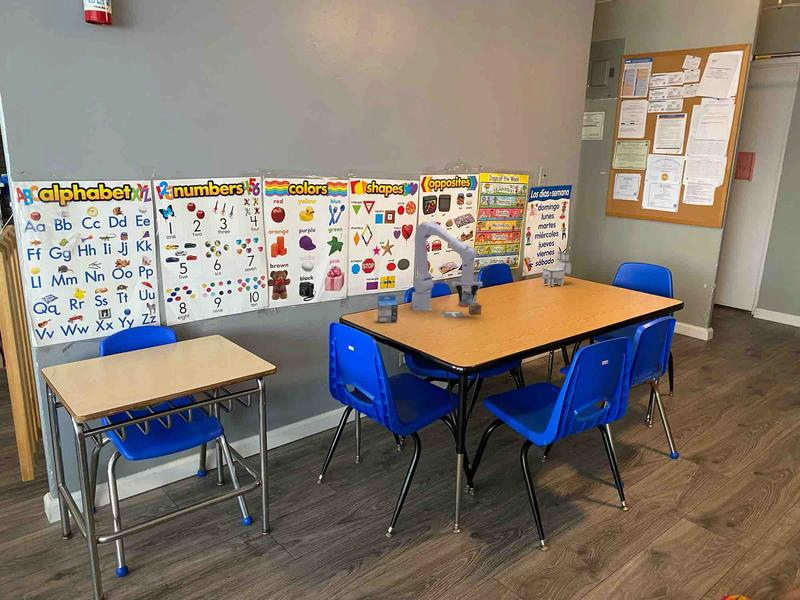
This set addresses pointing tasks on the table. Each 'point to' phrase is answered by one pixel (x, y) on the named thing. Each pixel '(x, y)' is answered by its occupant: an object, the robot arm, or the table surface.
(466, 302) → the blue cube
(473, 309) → the walnut block
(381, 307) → the label tape box
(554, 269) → the toy llama
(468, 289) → the ink box
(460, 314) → the letter card
